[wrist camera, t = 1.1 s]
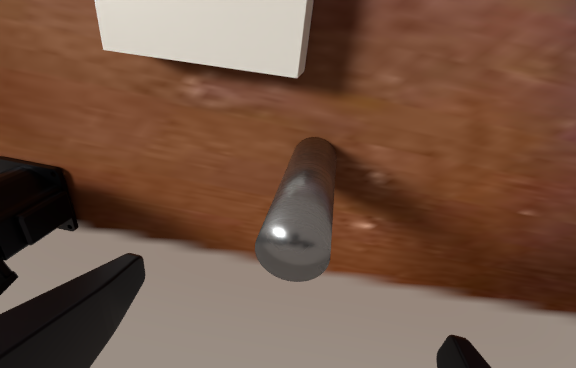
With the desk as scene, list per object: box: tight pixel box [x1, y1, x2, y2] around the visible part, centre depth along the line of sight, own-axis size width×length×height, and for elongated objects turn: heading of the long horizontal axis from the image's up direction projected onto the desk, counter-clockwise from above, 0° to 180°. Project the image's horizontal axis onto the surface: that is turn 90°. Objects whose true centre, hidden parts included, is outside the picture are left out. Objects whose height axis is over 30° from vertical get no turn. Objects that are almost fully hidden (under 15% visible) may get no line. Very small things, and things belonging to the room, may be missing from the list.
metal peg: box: [255, 137, 336, 282], centre depth 16 cm, size 3×3×10 cm
